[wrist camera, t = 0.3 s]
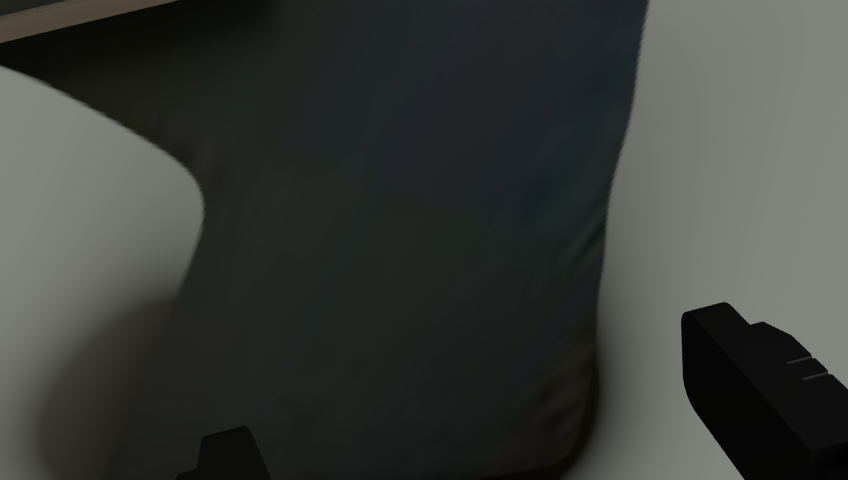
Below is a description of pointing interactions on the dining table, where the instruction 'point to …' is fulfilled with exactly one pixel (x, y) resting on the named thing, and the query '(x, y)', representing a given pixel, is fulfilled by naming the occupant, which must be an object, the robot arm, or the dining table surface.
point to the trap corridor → (65, 15)
